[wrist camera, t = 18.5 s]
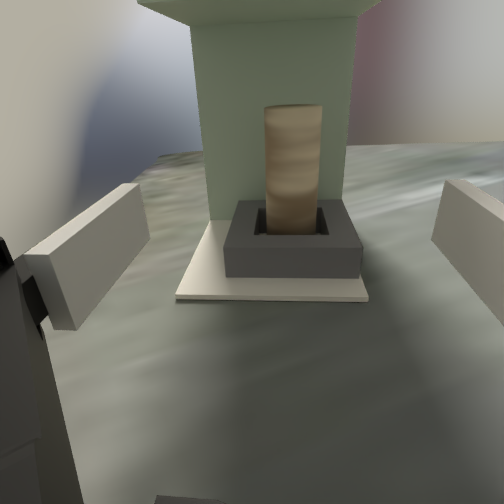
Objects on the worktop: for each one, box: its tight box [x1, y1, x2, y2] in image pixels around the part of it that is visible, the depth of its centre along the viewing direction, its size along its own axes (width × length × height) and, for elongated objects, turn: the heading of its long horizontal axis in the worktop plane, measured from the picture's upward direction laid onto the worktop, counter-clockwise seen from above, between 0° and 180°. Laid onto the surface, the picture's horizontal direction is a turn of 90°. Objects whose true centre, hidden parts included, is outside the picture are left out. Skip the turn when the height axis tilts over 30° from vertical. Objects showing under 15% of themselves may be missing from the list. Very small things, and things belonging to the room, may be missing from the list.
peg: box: [264, 104, 322, 235], centre depth 26 cm, size 4×4×11 cm
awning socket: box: [137, 0, 381, 302], centre depth 25 cm, size 15×13×18 cm
